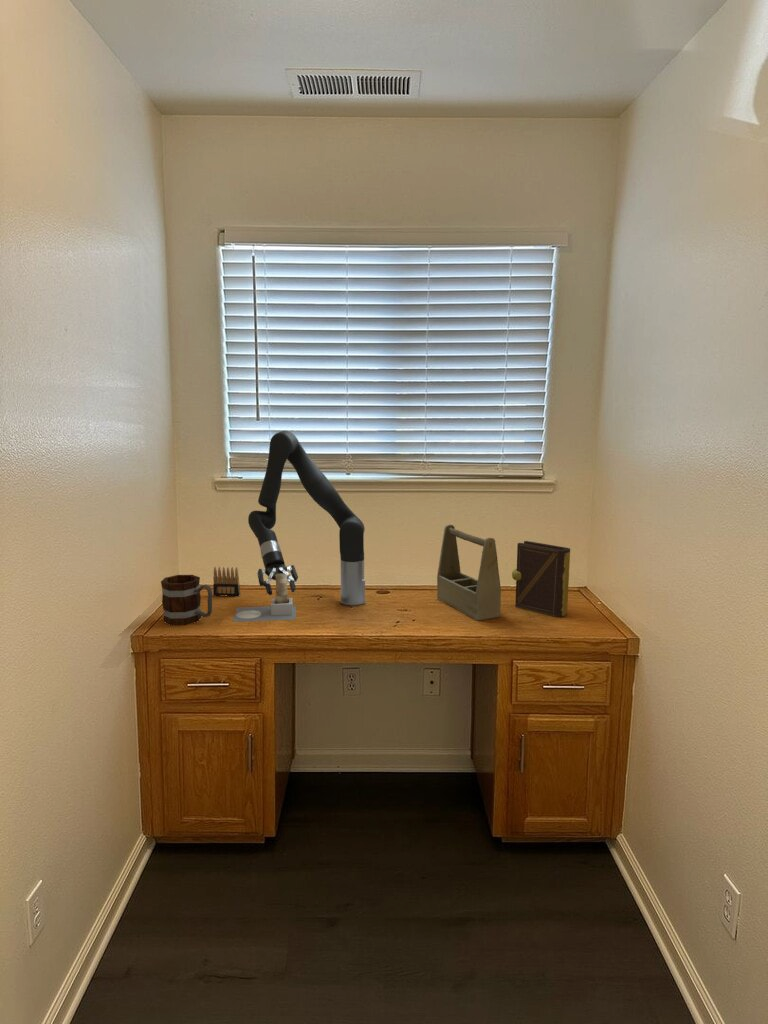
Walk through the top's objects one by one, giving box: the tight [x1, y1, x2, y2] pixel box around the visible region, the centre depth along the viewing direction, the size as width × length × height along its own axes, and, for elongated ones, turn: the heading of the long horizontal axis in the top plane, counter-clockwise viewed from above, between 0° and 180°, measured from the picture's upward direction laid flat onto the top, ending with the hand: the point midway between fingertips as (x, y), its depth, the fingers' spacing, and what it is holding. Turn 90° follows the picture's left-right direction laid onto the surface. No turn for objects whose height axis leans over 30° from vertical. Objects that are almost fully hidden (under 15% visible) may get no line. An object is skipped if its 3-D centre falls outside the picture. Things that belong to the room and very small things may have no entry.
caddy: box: [436, 524, 502, 621], centre depth 250 cm, size 29×11×30 cm, turn 25°
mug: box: [160, 574, 213, 626], centre depth 236 cm, size 20×14×15 cm
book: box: [511, 540, 571, 619], centre depth 247 cm, size 22×8×25 cm, turn 47°
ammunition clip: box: [212, 566, 241, 597], centre depth 266 cm, size 11×2×12 cm, turn 86°
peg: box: [275, 574, 288, 604], centre depth 241 cm, size 4×4×14 cm
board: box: [232, 597, 297, 623], centre depth 241 cm, size 22×16×6 cm
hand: (282, 592), depth 240 cm, fingers open, 8 cm apart
